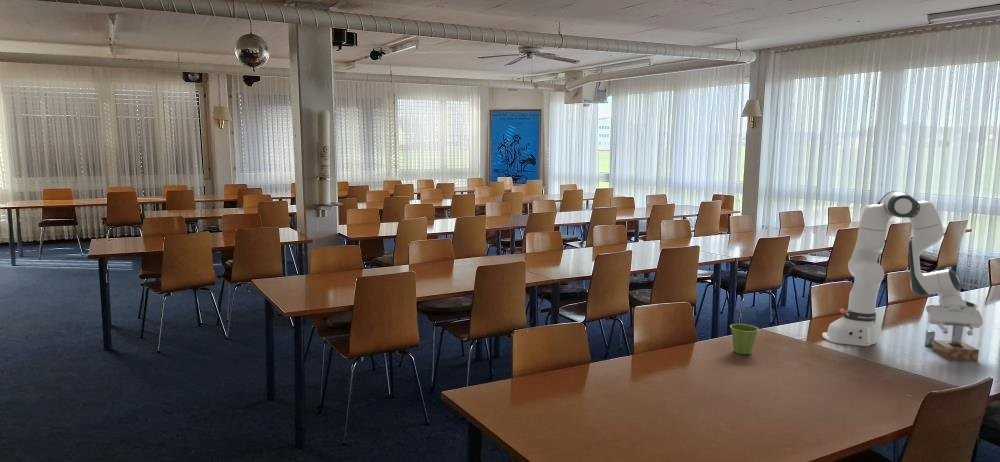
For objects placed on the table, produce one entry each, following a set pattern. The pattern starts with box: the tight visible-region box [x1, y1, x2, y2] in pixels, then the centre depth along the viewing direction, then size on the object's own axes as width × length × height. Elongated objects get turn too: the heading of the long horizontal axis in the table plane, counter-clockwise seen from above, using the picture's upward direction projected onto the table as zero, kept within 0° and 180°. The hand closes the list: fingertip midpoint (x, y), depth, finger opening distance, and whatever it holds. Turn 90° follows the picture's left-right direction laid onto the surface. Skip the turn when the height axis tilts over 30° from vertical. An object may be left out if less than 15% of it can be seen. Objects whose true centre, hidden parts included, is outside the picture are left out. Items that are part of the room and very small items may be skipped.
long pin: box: [950, 324, 964, 347], centre depth 285 cm, size 4×4×14 cm
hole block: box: [932, 339, 980, 362], centre depth 286 cm, size 12×12×5 cm
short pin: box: [924, 329, 936, 348], centre depth 299 cm, size 4×4×7 cm
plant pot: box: [729, 323, 760, 355], centre depth 286 cm, size 12×12×11 cm
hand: (957, 333), depth 284 cm, fingers open, 8 cm apart
